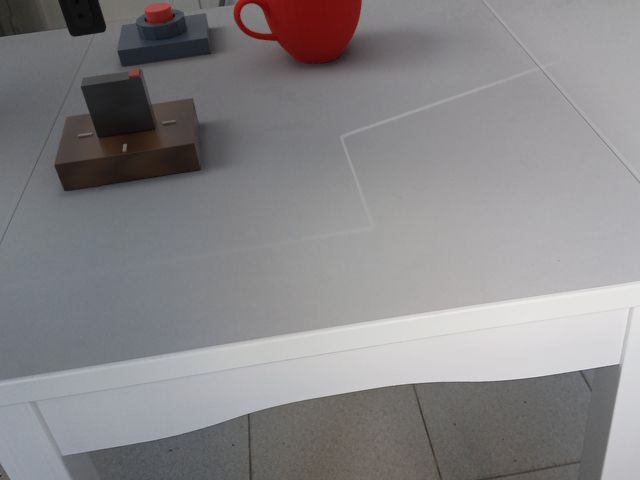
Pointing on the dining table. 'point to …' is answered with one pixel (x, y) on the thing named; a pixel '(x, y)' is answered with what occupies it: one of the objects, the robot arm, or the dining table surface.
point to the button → (158, 13)
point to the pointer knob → (119, 103)
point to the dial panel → (129, 149)
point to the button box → (164, 39)
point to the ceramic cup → (306, 26)
